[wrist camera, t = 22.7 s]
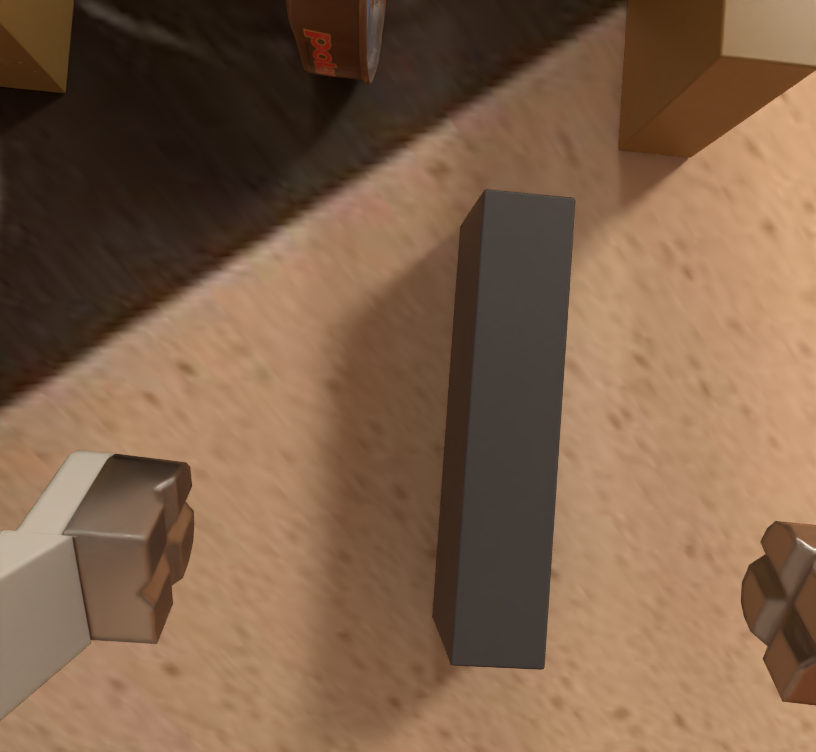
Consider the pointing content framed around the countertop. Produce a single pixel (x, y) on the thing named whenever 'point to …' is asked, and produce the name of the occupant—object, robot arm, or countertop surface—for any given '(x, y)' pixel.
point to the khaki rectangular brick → (708, 67)
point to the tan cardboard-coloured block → (35, 44)
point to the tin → (338, 36)
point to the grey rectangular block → (503, 430)
